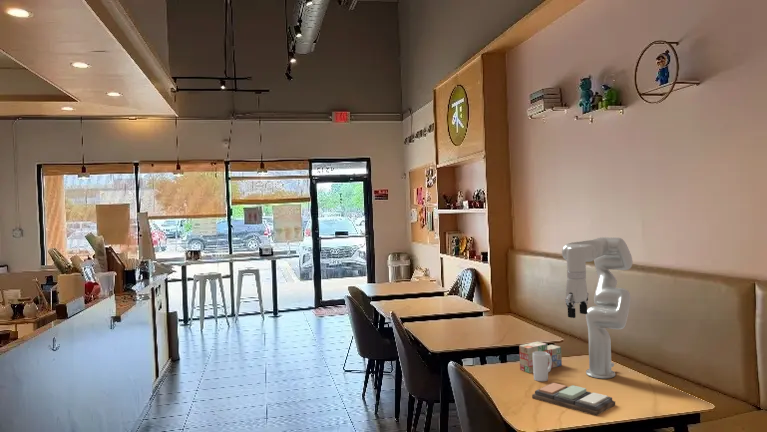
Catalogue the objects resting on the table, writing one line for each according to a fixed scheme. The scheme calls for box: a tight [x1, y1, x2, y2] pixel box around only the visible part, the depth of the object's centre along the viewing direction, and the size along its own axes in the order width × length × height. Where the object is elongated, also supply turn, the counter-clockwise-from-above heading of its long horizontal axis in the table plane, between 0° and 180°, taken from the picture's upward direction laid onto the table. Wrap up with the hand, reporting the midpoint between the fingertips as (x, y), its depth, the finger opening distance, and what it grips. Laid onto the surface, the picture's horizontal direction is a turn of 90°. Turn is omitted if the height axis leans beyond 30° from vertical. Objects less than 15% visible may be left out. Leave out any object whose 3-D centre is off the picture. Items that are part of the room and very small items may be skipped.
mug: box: [532, 351, 552, 382], centre depth 253 cm, size 10×7×12 cm, turn 116°
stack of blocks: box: [518, 341, 563, 374], centre depth 269 cm, size 21×6×12 cm, turn 118°
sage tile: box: [559, 385, 587, 400], centre depth 223 cm, size 11×6×2 cm, turn 132°
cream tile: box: [580, 392, 609, 406], centre depth 217 cm, size 11×6×2 cm, turn 132°
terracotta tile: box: [539, 382, 567, 395], centre depth 230 cm, size 11×6×2 cm, turn 132°
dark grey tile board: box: [531, 382, 616, 417], centre depth 224 cm, size 15×28×3 cm, turn 42°
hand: (577, 315), depth 234 cm, fingers open, 9 cm apart
